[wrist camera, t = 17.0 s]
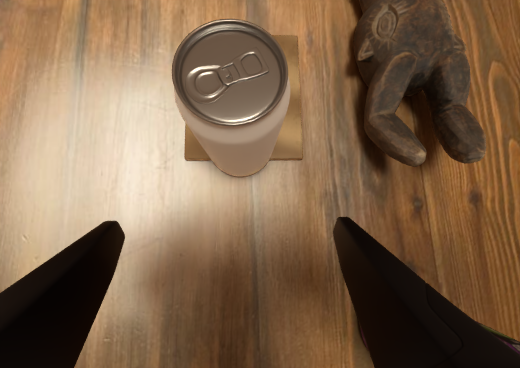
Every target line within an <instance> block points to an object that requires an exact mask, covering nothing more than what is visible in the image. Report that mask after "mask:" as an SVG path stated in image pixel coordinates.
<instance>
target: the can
mask: <svg viewBox="0 0 520 368" xmlns="http://www.w3.org/2000/svg"><path fill="white" fill-rule="evenodd" d="M172 79H173V84H174V92H175V100H176V104H177V107H178V109H179V112H180V114H181V116H182V117H183V119H184V121H185V122H186V124H187V125H188V127H189V128H190V130H191V131H192V133H193V134H194V136H195V137H196V139H197V140H198V141H199V143H200V144H201V146H202V147H203V149H204V150H205V151H206V153H207V154H208V156H209V157H210V158H211V160H212V161H213V162H214V164H215V165H216V166H217V167H218V168H219V169H220V170H222V171H223V172H225V173H227V174H229V175H233V176H248V175H252V174H254V173H256V172H258V171H259V170H261V169H262V168H263V167H264V166H265V165H266V164H267V162H268V161H269V159H270V157H271V154H272V152H273V149H274V146H275V144H276V141H277V138H278V135H279V133H280V130H281V127H282V124H283V121H284V118H285V115H286V112H287V109H288V105H289V100H290V81H289V77H288V65H287V60H286V57H285V54H284V52H283V50H282V48H281V46H280V45H279V43H278V42H277V41H276V40H275V38H274V37H273V36H272V35H271V34H269V33H268V32H267V31H266V30H264V29H263V28H261V27H259V26H257V25H255V24H253V23H250V22H247V21H243V20H238V19H221V20H215V21H211V22H208V23H206V24H203V25H201V26H200V27H198V28H196V29H195V30H193V31H192V32H191V33H190V34H188V35H187V36H186V37H185V39H184V40H183V41H182V42H181V44H180V45H179V47H178V49H177V51H176V53H175V56H174V59H173V64H172Z"/></svg>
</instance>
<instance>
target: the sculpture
mask: <svg viewBox="0 0 520 368" xmlns="http://www.w3.org/2000/svg"><path fill="white" fill-rule="evenodd" d="M359 3H360V7H361V10H362V13H363V16H362V17H361V19H360V20H359V22H358V24H357V27H356V31H355V35H354V54H355V59H356V62H357V65H358V68H359V71H360V73H361V76H362V79H363V80H364V82H365V83H366V85H367V86H368V87H369V88H368V93H367V97H366V104H365V111H364V129H365V132H366V134H367V135H368V137H369V138H370V139H371V140H372V141H373V142H374V143H375V144H376V145H377V146H378V147H379V148H380V149H381V150H382V151H383V152H384V153H386V154H387V155H389V156H390V157H392V158H394V159H396V160H398V161H400V162H401V163H403V164H406V165H409V166H413V167H416V166H419V165H421V164H422V163H423V162H424V161H425V159H426V152H427V150H426V149H425V148H424V146H423V145H422V144H421V142H420V141H419V140H418V138H417V137H416V136H415V135H414V133H413V132H412V131H411V130H410V129H409V128H408V127H407V126H406V125H405V124H404V123H403V121H401V120H400V119H399V118H398V117H397V116H396V115H395V112H396V110H397V108H398V106H399V104H400V102H401V100H402V98H403V97H404V96H412V95H414V94H416V93H418V92H420V91H422V90H423V92H424V94H425V96H426V101H427V103H428V106H429V110H430V113H431V121H432V127H433V130H434V133H435V135H436V137H437V139H438V140H439V142H440V144H441V145H442V147H443V148H444V150H445V151H446V153H447V154H448V155H449V156H450V157H451V158H453V159H454V160H456V161H459V162H462V163H474V162H477V161H480V160H481V159H482V158H483V157H484V155H485V152H486V135H485V133H484V131H483V130H482V128H481V126H480V125H479V123H478V121H477V120H476V118H475V117H474V116H473V115H472V113H471V112H470V111H469V110H468V109H467V108H466V107H465V105H466V101H467V98H468V94H469V87H470V80H471V79H470V66H469V63H468V60H467V57H466V54H465V53H464V52H465V51H466V45H465V43H464V42H463V40H462V39H461V38H460V37H459V36H457V35H456V34H454V31H453V30H452V29H453V27H452V26H451V20H450V15H449V14H448V12H447V7H445V4H444V3H443V2H442V1H441V0H359Z"/></svg>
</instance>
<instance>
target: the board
mask: <svg viewBox="0 0 520 368" xmlns="http://www.w3.org/2000/svg"><path fill="white" fill-rule="evenodd" d="M272 36H273V37H274V38H275V40H276V41H277V42H278V43H279V45H280V46H281V48H282V50H283V52H284V54H285V57H286V60H287V65H288V77H289V81H290V100H289V105H288V109H287V112H286V115H285V118H284V121H283V124H282V127H281V130H280V133H279V135H278V138H277V141H276V144H275V146H274V149H273V152H272V154H271V157H270V159H269V160H302V158H303V146H302V124H301V102H300V80H299V58H298V37H297V36H281V35H272ZM185 159H186V160H187V161H197V160H211V158H210V157H209V156H208V154H207V153H206V151H205V150H204V149H203V147H202V146H201V144H200V143H199V141H198V140H197V139H196V137H195V136H194V134H193V133H192V131H191V130H190V128H189V127H188V125H187V124H186V126H185Z"/></svg>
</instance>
